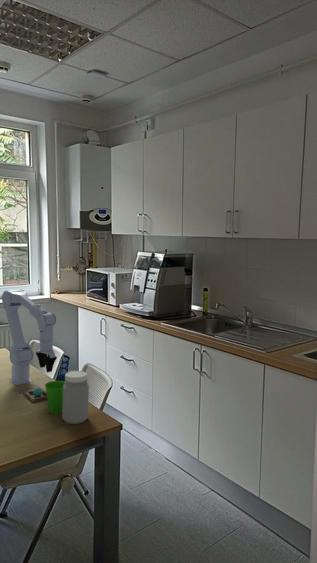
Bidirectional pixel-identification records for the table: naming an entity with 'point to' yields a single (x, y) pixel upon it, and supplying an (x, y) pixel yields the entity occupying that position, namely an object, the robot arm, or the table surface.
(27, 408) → the table surface
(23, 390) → the coaster
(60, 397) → the cup
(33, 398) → the tray
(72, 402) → the jar
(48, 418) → the table surface
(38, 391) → the ball
